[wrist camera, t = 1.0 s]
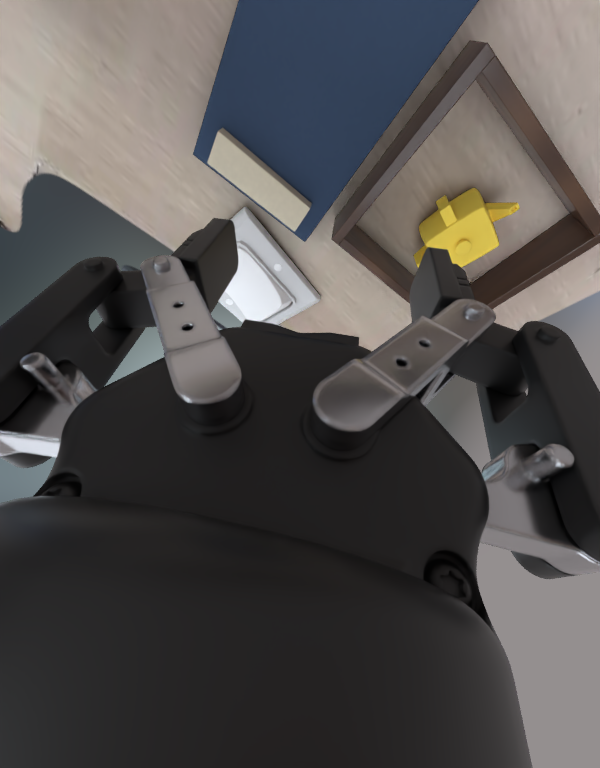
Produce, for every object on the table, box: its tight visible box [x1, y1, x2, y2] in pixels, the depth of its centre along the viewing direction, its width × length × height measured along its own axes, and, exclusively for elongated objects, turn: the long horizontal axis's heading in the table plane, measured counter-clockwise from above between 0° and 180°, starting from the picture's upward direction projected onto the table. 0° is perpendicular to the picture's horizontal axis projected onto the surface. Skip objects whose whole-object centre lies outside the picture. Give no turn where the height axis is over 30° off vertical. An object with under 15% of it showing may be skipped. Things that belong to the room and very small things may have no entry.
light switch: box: [219, 207, 321, 325], centre depth 34 cm, size 11×4×13 cm
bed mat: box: [193, 0, 479, 242], centre depth 20 cm, size 12×20×2 cm, turn 146°
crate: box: [332, 41, 600, 309], centre depth 25 cm, size 17×14×4 cm
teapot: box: [414, 188, 520, 268], centre depth 25 cm, size 8×6×5 cm
